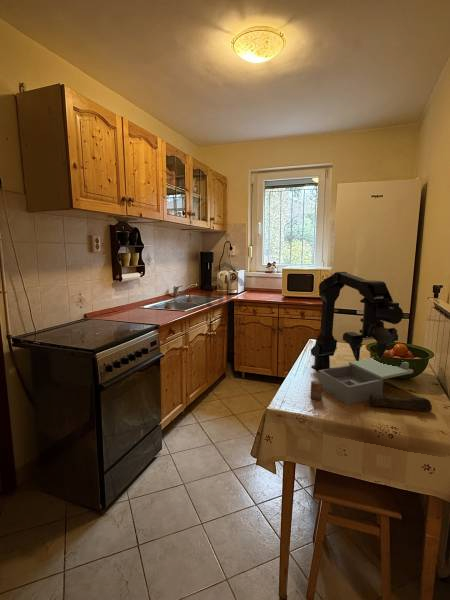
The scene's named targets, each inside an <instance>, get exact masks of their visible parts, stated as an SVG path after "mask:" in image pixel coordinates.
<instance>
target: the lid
mask: <svg viewBox="0 0 450 600" xmlns="http://www.w3.org/2000/svg"><path fill="white" fill-rule="evenodd" d="M373 358H374V357H369V358H363V359H359V361H356V360H353V361H349V362H348V365H352V366H354V367H356V368H358V369H360V370H362V371H364V372H366V373H369V374H371V375H373V376H375V377H377V378H379V379H381V380H382V379H383V380H386V379H390V378H395V377H400V376H405V375H409V374H414V370H413V369H412V368H411V369H410V368H409V366H410V363H409V361H408V362H407V361H405V362H402V363H401V365H400V367H399V366H392V365H387V364H383V363H380V362H378V361H376V360H374V359H373Z"/></svg>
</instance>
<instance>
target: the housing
mask: <svg viewBox="0 0 450 600" xmlns="http://www.w3.org/2000/svg"><path fill="white" fill-rule="evenodd" d="M317 377H318V379H317V381H321V382H322V383H323V389H322V391H324V392H327V394H329V395H331V396H333V397H334V398H336V399H337V400H339V401H341V402H342V403H344V404H345V405H347V406H350V405H353V404H358V403H361V402H365V401H370V395H374V396H383V388H384V379H382V380H381V379H379V378H377V377H375V376H373V375H371V374H369V373H366V372H364V371H362V370H360V369H358V368H356V367H354V366H352V365H349V364H347V365H346V364H345V365H342V366H341V365H340V366H336V367H330V368H329V369H324V370H319V371H318V374H317Z"/></svg>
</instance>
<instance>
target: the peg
mask: <svg viewBox="0 0 450 600" xmlns="http://www.w3.org/2000/svg"><path fill="white" fill-rule="evenodd" d="M310 400H312V401H314V402H320V401H322V400H323V383H322V382H321V381H318V380H311V382H310Z"/></svg>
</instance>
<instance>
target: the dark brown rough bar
mask: <svg viewBox="0 0 450 600" xmlns="http://www.w3.org/2000/svg"><path fill="white" fill-rule="evenodd" d="M369 404H370V407H371V408H372V407H375V408H379V407H383V408H392V409H403V410H410V411H413V412H414V413H427V412H429V413H430V412H432V411H433V410H432V409H433V406H432V405H433V404H432V403H431V401H430V400H429V399H428V398H425V397H418V396H413V397H412V396H411V398H404V397H402V398H401V397H393V396H392V397H389V396H383V395H382V396H374V395H370V400H369Z"/></svg>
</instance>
